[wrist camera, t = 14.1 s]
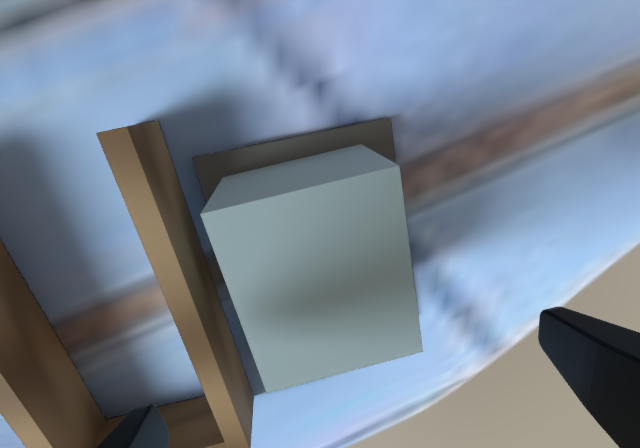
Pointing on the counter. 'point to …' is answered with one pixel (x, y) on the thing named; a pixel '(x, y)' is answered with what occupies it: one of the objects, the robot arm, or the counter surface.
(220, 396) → the frame
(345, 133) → the mat
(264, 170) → the blank block
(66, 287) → the counter surface
